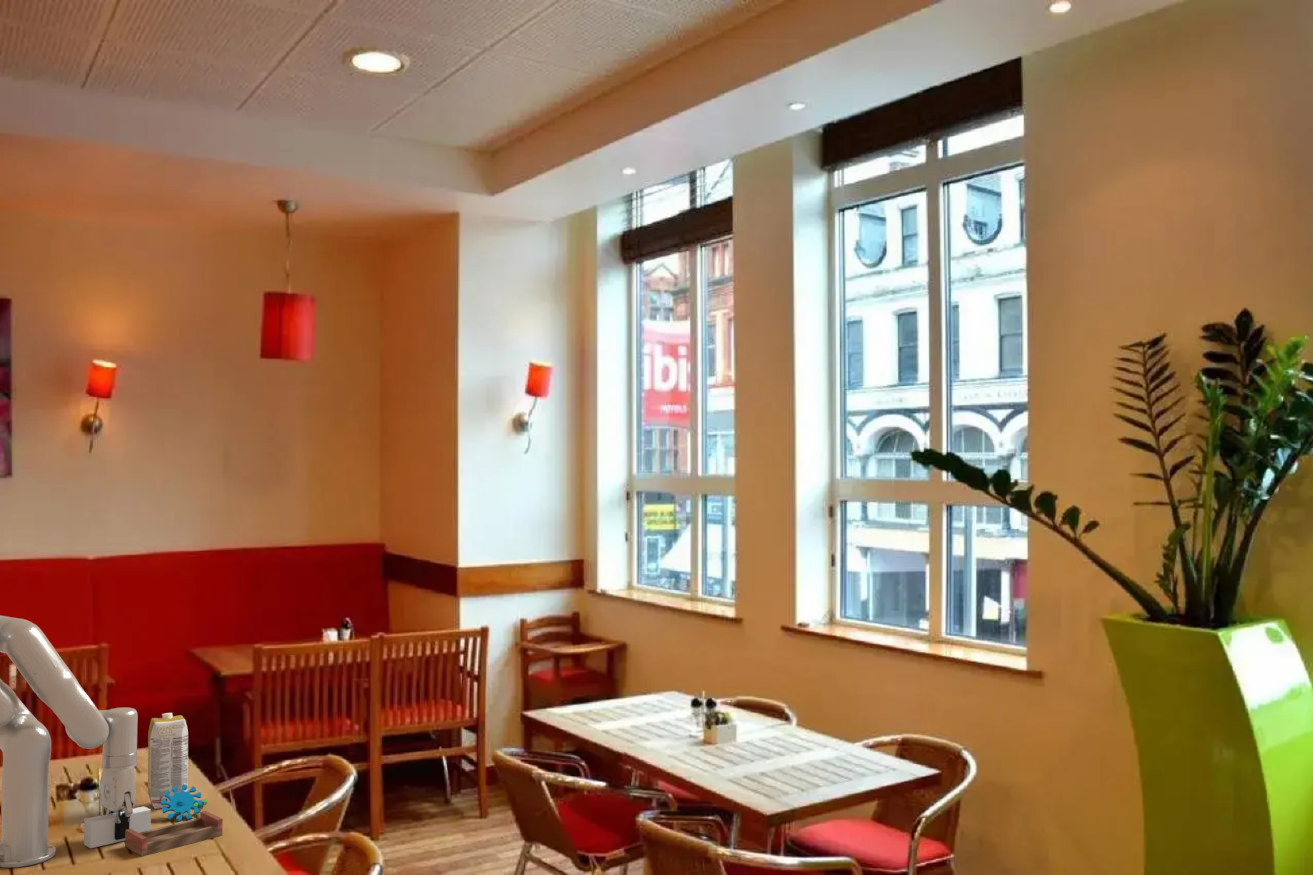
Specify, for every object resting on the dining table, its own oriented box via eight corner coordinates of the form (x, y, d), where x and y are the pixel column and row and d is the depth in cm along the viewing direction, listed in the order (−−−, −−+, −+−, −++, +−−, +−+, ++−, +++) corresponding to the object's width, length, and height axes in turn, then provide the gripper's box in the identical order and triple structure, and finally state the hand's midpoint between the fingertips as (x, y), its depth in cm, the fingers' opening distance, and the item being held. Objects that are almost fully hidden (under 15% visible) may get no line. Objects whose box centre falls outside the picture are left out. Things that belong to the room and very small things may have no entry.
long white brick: (90, 848, 261) (91, 822, 261) (83, 844, 264) (84, 819, 264) (150, 834, 271) (150, 809, 271) (143, 830, 274) (144, 806, 274)
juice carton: (183, 797, 301) (184, 709, 302) (188, 805, 294) (189, 714, 295) (146, 803, 296) (147, 713, 297) (150, 811, 289) (151, 719, 290)
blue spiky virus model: (157, 818, 279) (164, 782, 286) (156, 829, 282) (163, 794, 289) (204, 819, 282) (210, 783, 289) (202, 830, 286) (208, 795, 293)
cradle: (141, 856, 256) (142, 838, 256) (125, 846, 262) (125, 829, 263) (222, 835, 270) (222, 818, 271) (204, 826, 277) (204, 810, 277)
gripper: (89, 756, 271) (88, 832, 270) (117, 769, 260) (115, 848, 259) (121, 751, 276) (119, 825, 276) (149, 763, 265) (148, 840, 264)
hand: (117, 835), depth 267 cm, fingers closed on long white brick, 4 cm apart
